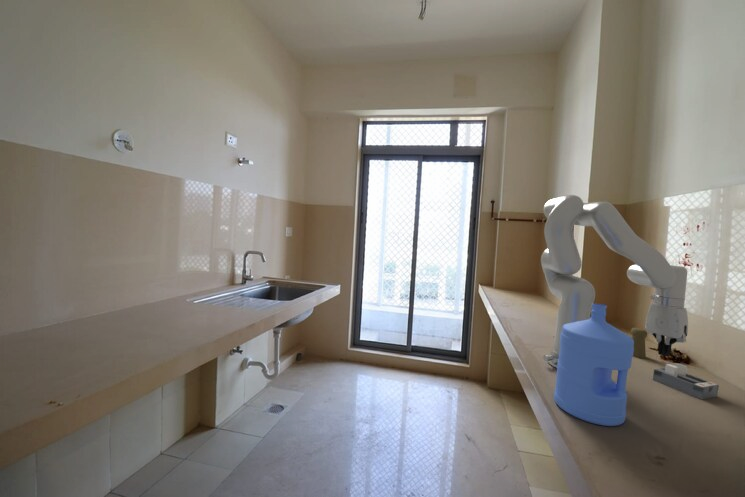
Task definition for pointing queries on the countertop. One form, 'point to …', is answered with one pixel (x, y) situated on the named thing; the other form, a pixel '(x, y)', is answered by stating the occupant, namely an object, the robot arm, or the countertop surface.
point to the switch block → (687, 384)
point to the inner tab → (671, 370)
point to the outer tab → (681, 369)
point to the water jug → (593, 369)
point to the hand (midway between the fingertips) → (663, 354)
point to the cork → (639, 342)
